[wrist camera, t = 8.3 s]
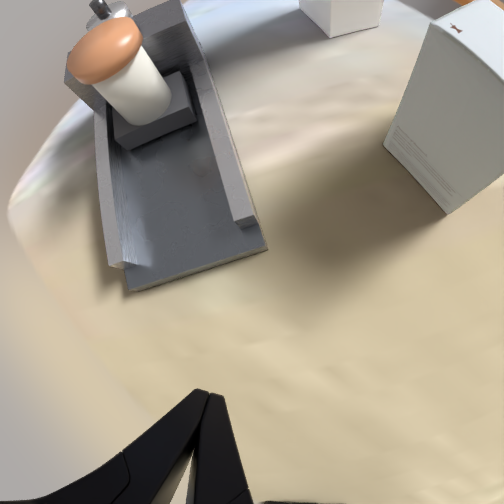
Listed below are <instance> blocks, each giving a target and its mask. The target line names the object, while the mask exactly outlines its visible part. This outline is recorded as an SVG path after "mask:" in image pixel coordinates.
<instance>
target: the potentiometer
mask: <svg viewBox="0 0 504 504" xmlns="http://www.w3.org/2000/svg"><path fill="white" fill-rule="evenodd" d="M89 6H90V7H91V8H92V10H93V11H94V13H95V14H94V15H93V16H92V17H91V19H90V20H89V21H88V23H87V25H86V28H87V30H88V31H91V30H92V29H93V28H95V27H96V26H98V25H100V24H101V23H103V22H105V21H108V20H110V19H113V18H117V17H129V18H131V19H132V20H133V21H134V22H135V24H136V26H137V27H138V29H139V24H138V23H137V21H136V20H135V18H134V16H133V15H132V13H131V11H130V10H129V8H128V7H127V5H126V3H125V2H121V1H120V2H115V3H112V4H109V5H107V4H106V3H105V1H104V0H93V1H92V2H91V3H90V4H89Z"/></svg>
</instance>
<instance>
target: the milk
mask: <svg viewBox="0 0 504 504" xmlns="http://www.w3.org/2000/svg"><path fill="white" fill-rule="evenodd" d="M383 2H384V0H299V8H300V9H301V10H302V11H303V12H304V13H305V14H306V15H307V16H308V17H309V18H310V19H311V20H312V21H313V22H315V23H316V24H317V25H318V26H319V27H320V28H321V29H322V30H323V31H324V32H325V33H326V35H327V36H328V37H329V38H333V37H336V36H340V35H344V34H347V33H351V32H355V31H359V30H364V29H368V28H372V27H377V26H379V25H380V20H381V14H382V8H383Z"/></svg>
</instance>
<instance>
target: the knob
mask: <svg viewBox="0 0 504 504" xmlns="http://www.w3.org/2000/svg"><path fill="white" fill-rule="evenodd" d="M142 41H143V36H142V34H141V32H140V30H139V29H138V27H137V26H136V24H135V22H134V21H133V20H132V19H131V18H129V17H117V18H113V19H110V20H108V21H105V22H103V23H101V24H100V25H98V26H96V27H95V28H93V29H92V30H91V31H89V32H88V33H87V34H86V35H85V36H83V37H82V38H81V40H80V41H79V42H78V43H77V44H76V45H75V46H74V48H73V49H72V51H71V53H70V55H69V57H68V60H67V69H68V70H69V72H70V73H71V74H72V75H73V76H74V77H75V78H76V79H77V80H78V81H79V82H81V83H82V84H87V85H89V84H91V85H92V86H93V87H94V88H95V89H96V90H97V91H98V92H99V93H100V94H101V95H102V96H103V97H104V98H105V99H106V100H107V101H108V102H109V103H110V104H111V105H112V110H113V125H114V138H115V141H117V142H118V143H119V144H120V145H121V146H122V147H123V148H125V149H126V150H127V151H129V150H131V149H133V148H135V147H137V146H139V145H142V144H144V143H146V142H148V141H150V140H153V139H155V138H157V137H160V136H162V135H164V134H167V133H169V132H171V131H174V130H176V129H179V128H181V127H184V126H186V125H189V124H191V123H194V122H196V121H197V118H196V114H195V110H194V107H193V103H192V99H191V95H190V91H189V87H188V85H187V83H186V81H185V79H184V77H183V76H182V74H181V72H180V71H178V72H176V73H173V74H171V75H168V76H166V77H164V78H162V76H161V75H160V73H159V71H158V70H157V68H156V67H155V65H154V64H153V62H152V61H151V59H150V58H149V56H148V55H147V53H146V52H145V50H144V48H143V47H142Z"/></svg>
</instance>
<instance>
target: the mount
mask: <svg viewBox="0 0 504 504" xmlns="http://www.w3.org/2000/svg"><path fill="white" fill-rule="evenodd" d="M134 18H135V20H136V21H137V23H138V24H139V30H140V32H141V34H142V36H143V41H142V47H143V48H144V50H145V52H146V53H147V55H148V56H149V58H150V59H151V61H152V62H153V64H154V65H155V67H156V68H157V70H158V71H159V73H160V75H161V76H162V78H164V77H166V76H168V75H171V74H173V73H176V72H178V71H180V72H181V74H182V76H183V77H184V79H185V81H186V83H187V85H188V87H189V91H190V95H191V99H192V103H193V107H194V110H195V114H196V118H197V121H196V122H194V123H191V124H189V125H186V126H184V127H181V128H179V129H176V130H174V131H171V132H169V133H167V134H164V135H162V136H160V137H157V138H155V139H153V140H150V141H148V142H146V143H144V144H142V145H139V146H137V147H135V148H133V149H131V150H129V151H127V150H126V149H125V148H123V147H122V146H121V145H120V144H119V143H118V142H117V141H115V138H114V125H113V110H112V105H111V104H110V103H109V102H108V101H107V100H106V99H105V98H104V97H103V96H102V95H101V94H100V93H99V92H98V91H97V90H96V89H95V88H94V87H93V86H92V85H91V84H89V85H87V84H82V83H81V82H79V81H78V80H77V79H76V78H75V77H74V76H73V75H72V74H71V73H70V72H69V70H68V69H67V63H66V70H65V78H64V83H65V84H66V85H67V86H68V87H69V88H70V89H71V90H72V91H73V92H74V93H75V94H77V96H79V97H80V98H81V99H82V100H83V101H84V102H85V103H86V104H87V105H88V106H89V107H90V108H91V109H92V110H93V111H94V133H95V154H96V169H97V181H98V192H99V202H100V210H101V218H102V226H103V233H104V240H105V247H106V253H107V259H108V265H109V266H111V267H115V268H119V269H123V270H124V271H125V276H126V281H127V286H128V290H132V291H141V290H144V289H147V288H151V287H154V286H157V285H160V284H163V283H166V282H169V281H172V280H175V279H179V278H182V277H185V276H188V275H191V274H194V273H197V272H200V271H203V270H207V269H210V268H213V267H216V266H219V265H222V264H225V263H228V262H231V261H235V260H238V259H241V258H244V257H247V256H250V255H253V254H256V253H259V252H262V251H266V250H268V248H267V244H266V241H265V238H264V235H263V232H262V228H261V225H260V222H259V219H258V216H257V212H256V209H255V206H254V203H253V200H252V197H251V193H250V190H249V187H248V184H247V181H246V178H245V175H244V172H243V168H242V165H241V162H240V159H239V156H238V153H237V150H236V147H235V144H234V141H233V138H232V134H231V131H230V128H229V125H228V122H227V119H226V116H225V113H224V110H223V107H222V104H221V101H220V98H219V95H218V92H217V89H216V86H215V83H214V80H213V77H212V74H211V71H210V68H209V65H208V62H207V59H206V56H205V53H204V51H203V48H202V46H201V44H200V42H199V41H198V38H197V36H196V34H195V32H194V29H193V27H192V25H191V23H190V21H189V18H188V16H187V14H186V12H185V10H184V7H183V5H182V3H181V1H180V0H169V1H167V2H164V3H162V4H160V5H157V6H155V7H153V8H150V9H148V10H146V11H144V12H141V13H139V14H137V15H135V16H134ZM70 53H71V51H70V52H69V53H68V56H67V60H68V57H69V55H70Z"/></svg>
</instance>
